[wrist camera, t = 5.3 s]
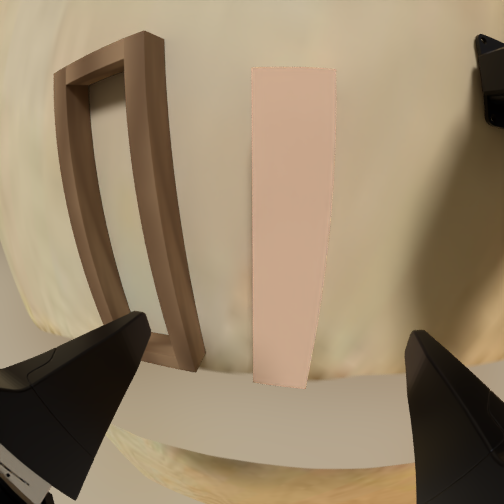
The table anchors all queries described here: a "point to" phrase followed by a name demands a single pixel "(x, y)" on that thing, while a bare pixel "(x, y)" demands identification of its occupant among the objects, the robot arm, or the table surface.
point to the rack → (146, 185)
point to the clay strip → (290, 215)
